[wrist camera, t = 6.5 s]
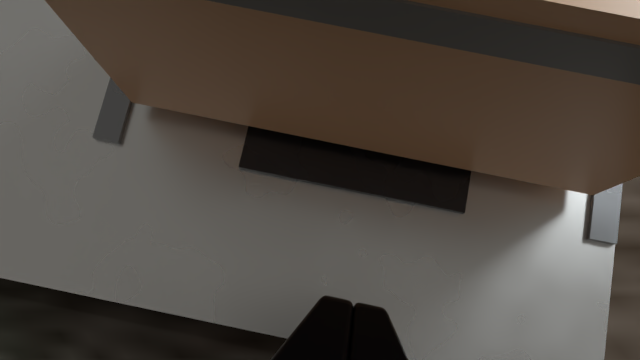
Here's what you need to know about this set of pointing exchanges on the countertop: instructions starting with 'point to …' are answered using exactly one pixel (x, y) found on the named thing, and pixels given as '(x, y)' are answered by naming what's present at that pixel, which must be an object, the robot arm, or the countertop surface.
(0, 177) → the label panel
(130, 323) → the countertop surface
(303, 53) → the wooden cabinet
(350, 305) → the robot arm
